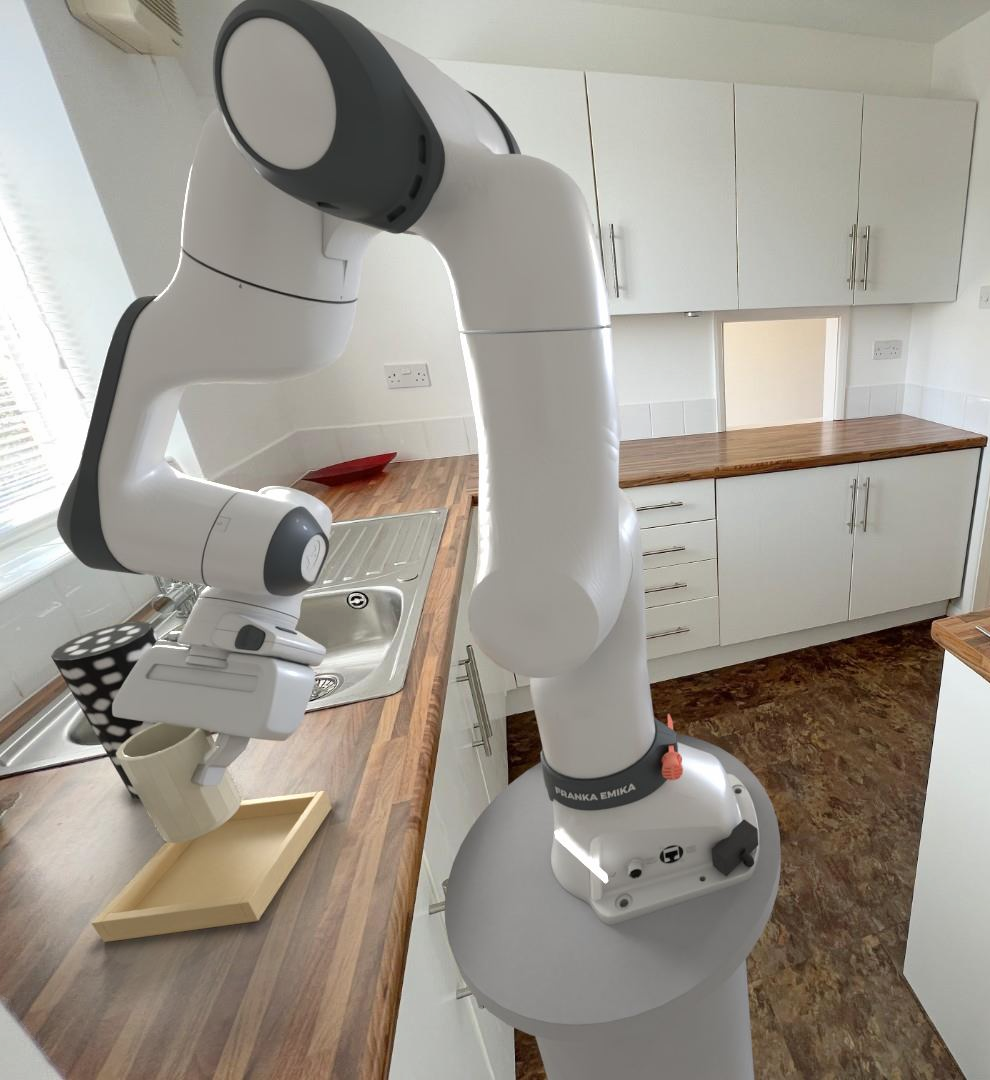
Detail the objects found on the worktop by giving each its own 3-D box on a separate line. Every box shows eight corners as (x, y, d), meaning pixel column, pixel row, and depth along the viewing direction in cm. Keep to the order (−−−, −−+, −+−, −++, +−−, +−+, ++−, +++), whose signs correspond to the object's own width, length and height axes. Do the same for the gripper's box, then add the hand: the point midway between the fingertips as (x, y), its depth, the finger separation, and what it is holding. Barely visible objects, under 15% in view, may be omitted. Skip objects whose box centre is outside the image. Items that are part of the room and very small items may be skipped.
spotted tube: (133, 774, 75) (58, 640, 67) (215, 742, 80) (153, 614, 72) (127, 812, 69) (44, 669, 61) (216, 775, 74) (149, 639, 66)
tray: (332, 807, 68) (325, 790, 67) (258, 921, 55) (248, 902, 54) (208, 823, 66) (199, 805, 66) (103, 942, 54) (91, 923, 53)
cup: (255, 789, 61) (219, 711, 57) (214, 838, 55) (171, 755, 52) (192, 796, 61) (152, 718, 57) (144, 847, 55) (96, 764, 51)
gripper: (132, 622, 60) (58, 763, 55) (287, 637, 55) (222, 794, 50) (194, 636, 66) (132, 766, 61) (340, 652, 61) (286, 794, 56)
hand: (174, 779), depth 56 cm, fingers closed on cup, 6 cm apart
